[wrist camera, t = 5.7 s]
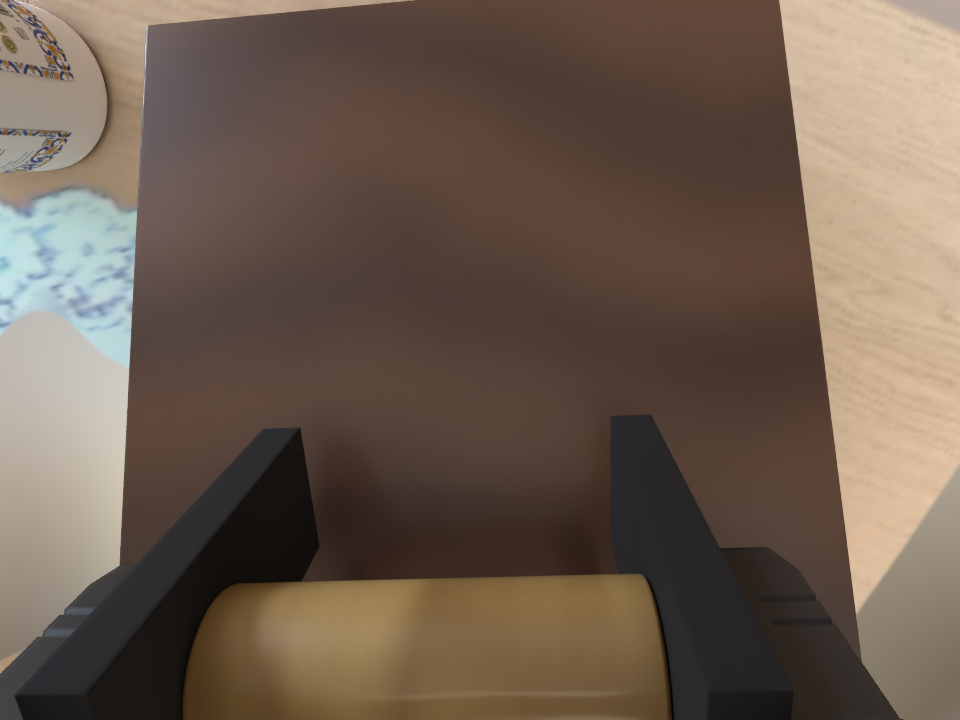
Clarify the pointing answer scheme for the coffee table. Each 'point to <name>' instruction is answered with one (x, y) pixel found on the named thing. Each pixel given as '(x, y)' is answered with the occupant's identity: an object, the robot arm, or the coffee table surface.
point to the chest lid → (474, 338)
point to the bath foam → (46, 91)
